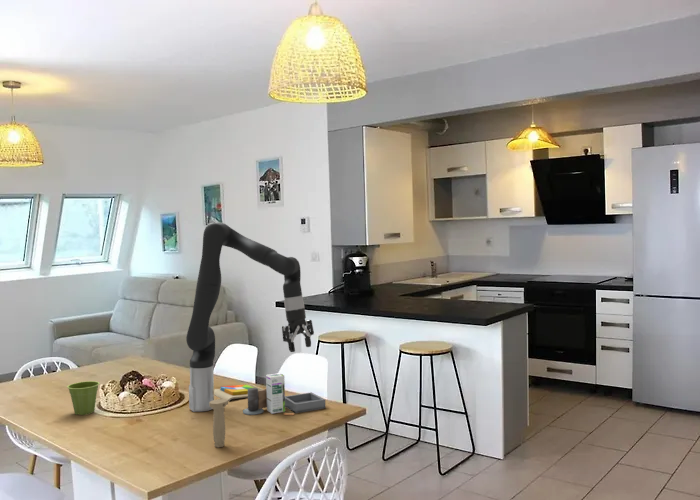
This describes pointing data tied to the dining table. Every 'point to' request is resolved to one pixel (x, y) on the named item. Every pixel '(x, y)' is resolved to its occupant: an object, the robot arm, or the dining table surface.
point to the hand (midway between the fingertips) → (300, 349)
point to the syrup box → (275, 393)
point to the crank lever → (256, 399)
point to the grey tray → (304, 402)
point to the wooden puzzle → (234, 391)
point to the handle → (218, 421)
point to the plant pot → (83, 396)
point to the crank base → (259, 412)
